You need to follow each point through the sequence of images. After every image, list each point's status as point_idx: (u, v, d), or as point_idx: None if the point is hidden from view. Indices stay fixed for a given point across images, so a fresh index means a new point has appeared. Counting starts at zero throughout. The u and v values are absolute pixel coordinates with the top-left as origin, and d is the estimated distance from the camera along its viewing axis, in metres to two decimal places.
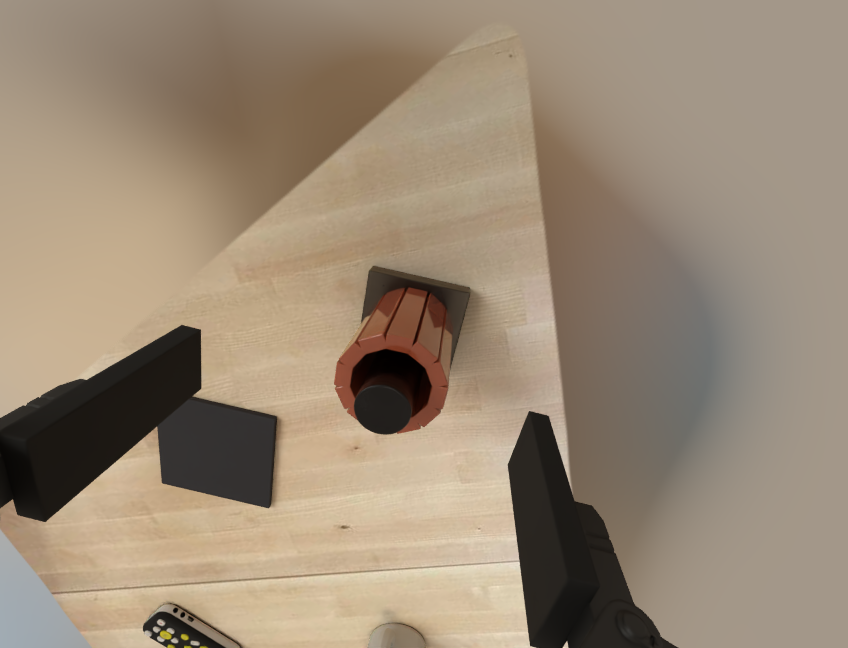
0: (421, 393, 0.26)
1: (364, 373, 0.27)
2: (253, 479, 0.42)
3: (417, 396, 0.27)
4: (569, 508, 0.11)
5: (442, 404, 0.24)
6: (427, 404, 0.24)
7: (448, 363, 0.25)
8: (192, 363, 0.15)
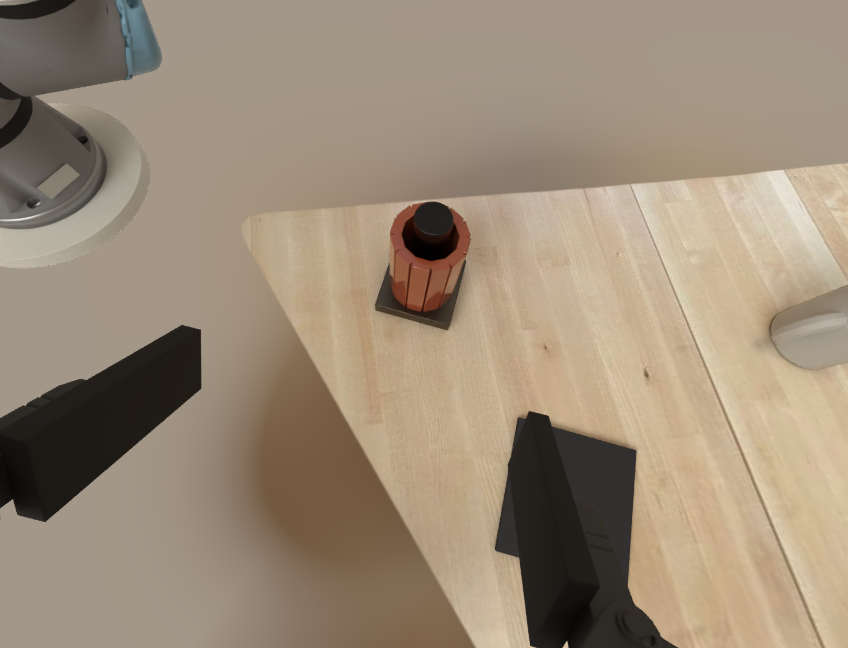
0: None
1: None
2: (598, 459, 0.39)
3: (451, 238, 0.37)
4: (569, 508, 0.11)
5: None
6: None
7: None
8: (192, 363, 0.15)
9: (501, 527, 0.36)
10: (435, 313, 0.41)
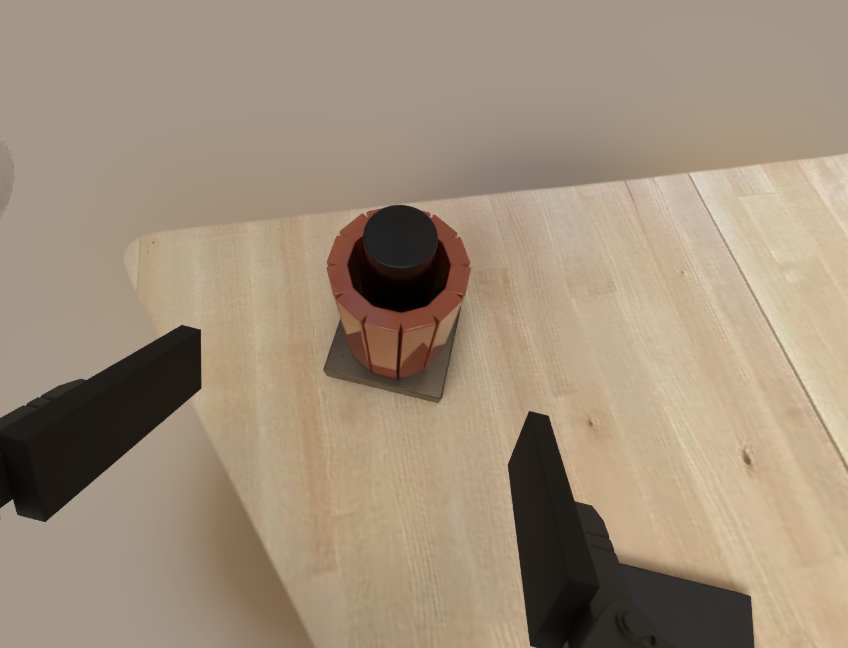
0: None
1: None
2: (693, 617, 0.23)
3: (437, 265, 0.22)
4: (569, 508, 0.11)
5: None
6: None
7: None
8: (192, 363, 0.15)
9: None
10: (418, 380, 0.26)
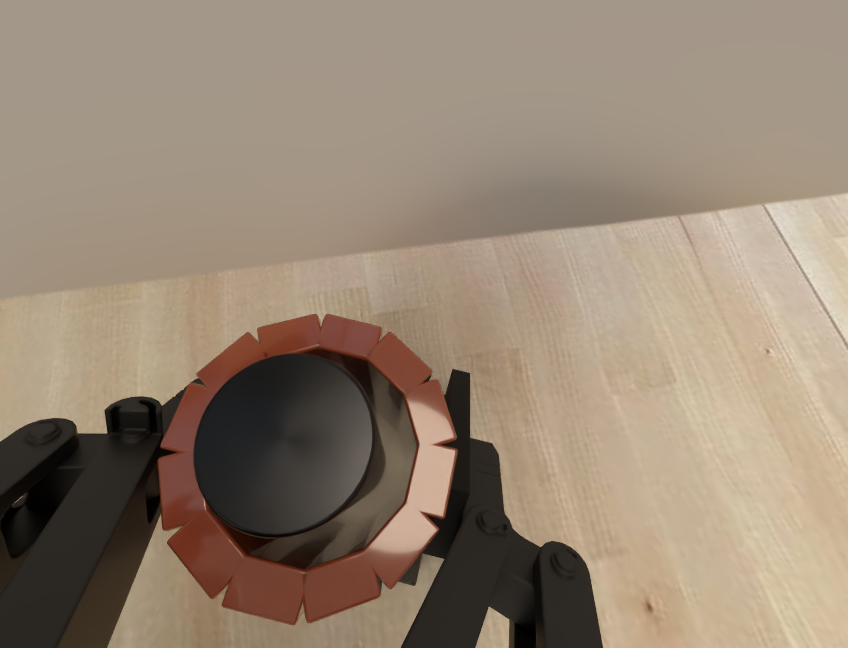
0: (390, 398, 0.12)
1: (347, 540, 0.11)
2: None
3: (399, 408, 0.12)
4: (463, 440, 0.13)
5: (367, 326, 0.11)
6: (368, 359, 0.10)
7: None
8: None
9: None
10: None
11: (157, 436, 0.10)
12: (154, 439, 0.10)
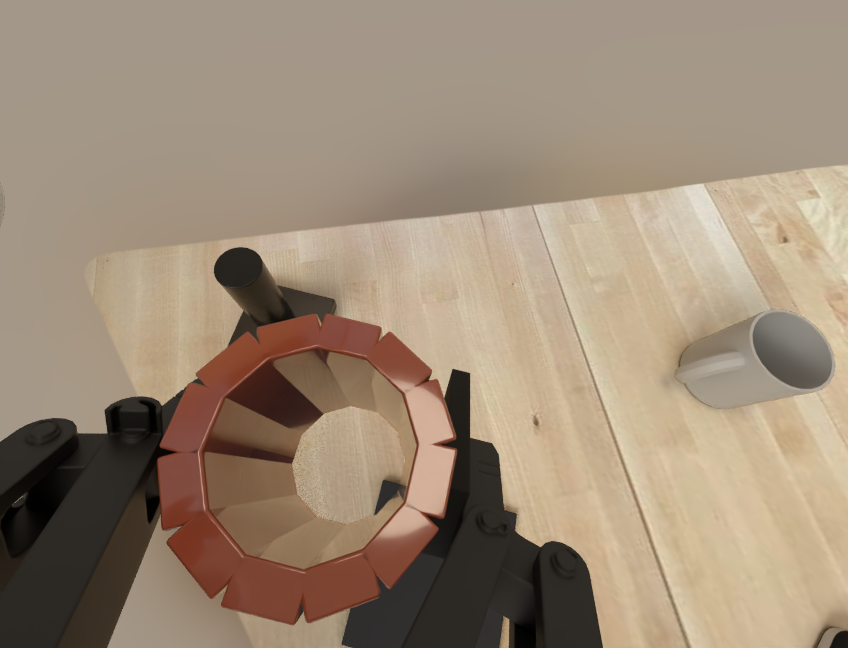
0: (390, 398, 0.12)
1: (346, 540, 0.11)
2: None
3: (399, 408, 0.12)
4: (463, 440, 0.13)
5: (367, 325, 0.11)
6: (367, 359, 0.10)
7: None
8: None
9: (351, 614, 0.31)
10: None
11: (157, 436, 0.10)
12: (154, 439, 0.10)
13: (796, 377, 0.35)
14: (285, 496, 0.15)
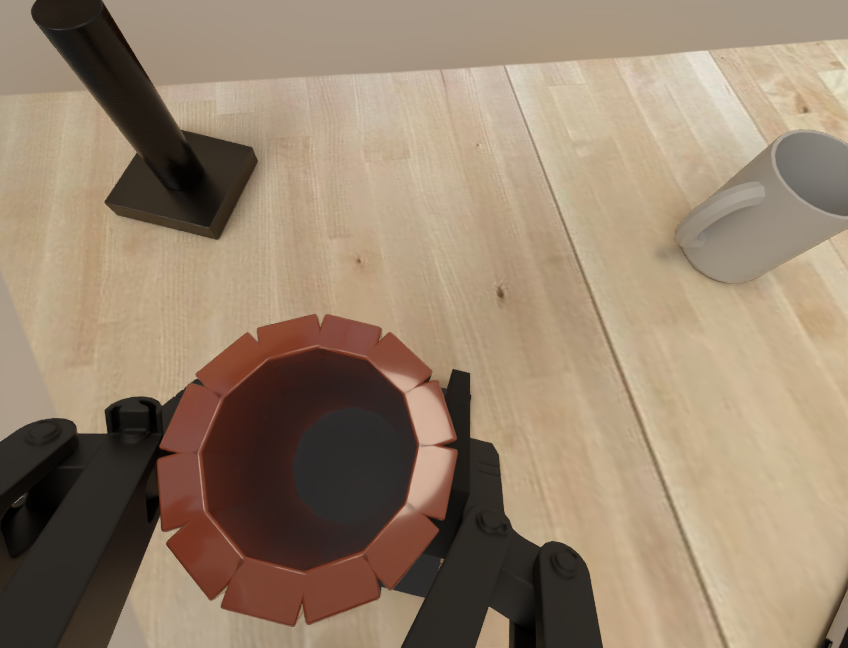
0: (390, 399, 0.12)
1: (346, 541, 0.11)
2: None
3: (399, 409, 0.12)
4: (463, 440, 0.13)
5: (367, 326, 0.11)
6: (368, 360, 0.10)
7: None
8: None
9: None
10: (192, 213, 0.29)
11: (157, 436, 0.10)
12: (154, 439, 0.10)
13: None
14: (285, 497, 0.15)
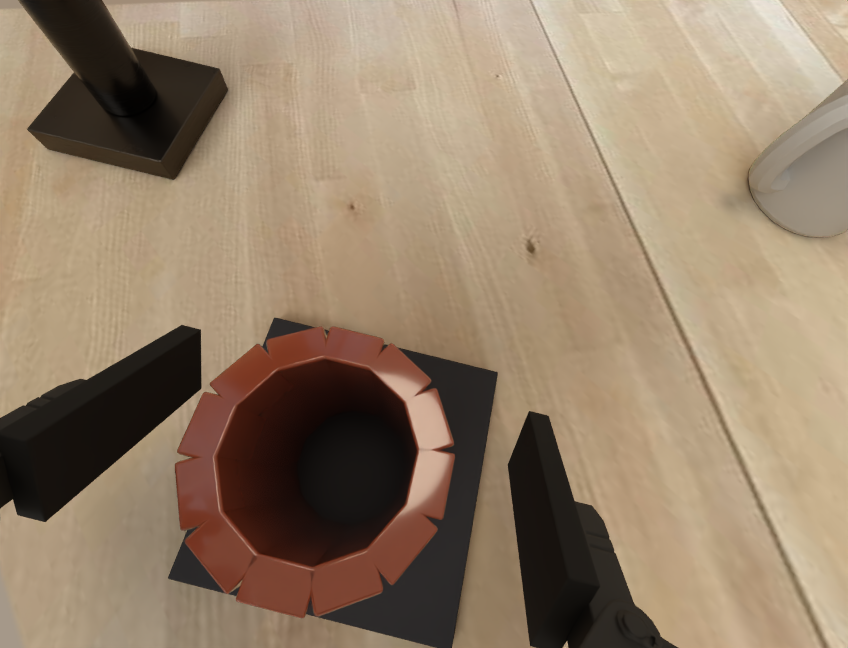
0: (392, 405, 0.13)
1: (350, 540, 0.12)
2: None
3: (400, 414, 0.13)
4: (569, 508, 0.11)
5: (370, 337, 0.11)
6: (371, 369, 0.11)
7: None
8: (192, 363, 0.15)
9: None
10: (139, 143, 0.23)
11: None
12: None
13: None
14: (291, 498, 0.16)
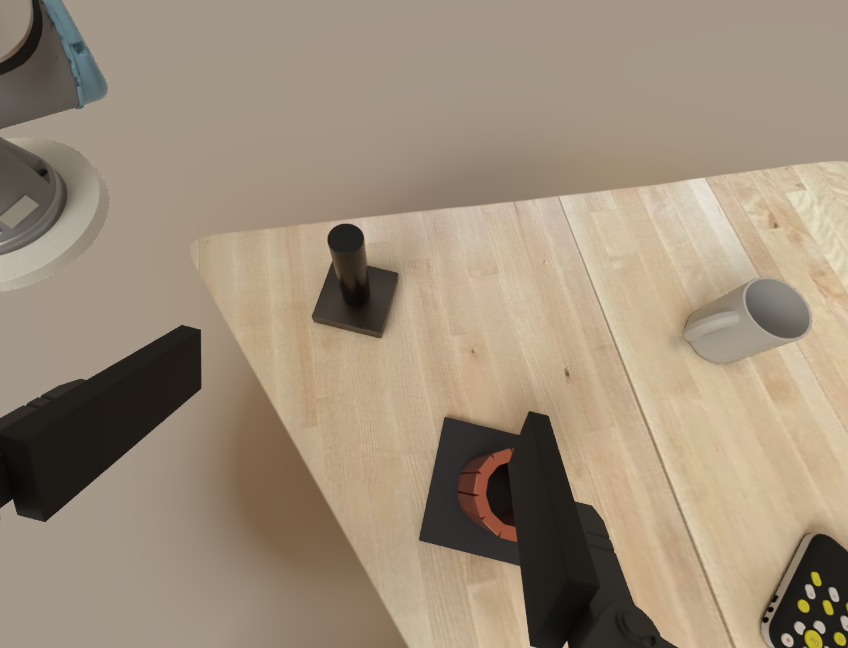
0: None
1: None
2: None
3: None
4: (569, 508, 0.11)
5: None
6: None
7: None
8: (192, 363, 0.15)
9: (425, 518, 0.39)
10: (367, 323, 0.45)
11: None
12: None
13: (781, 333, 0.43)
14: None
